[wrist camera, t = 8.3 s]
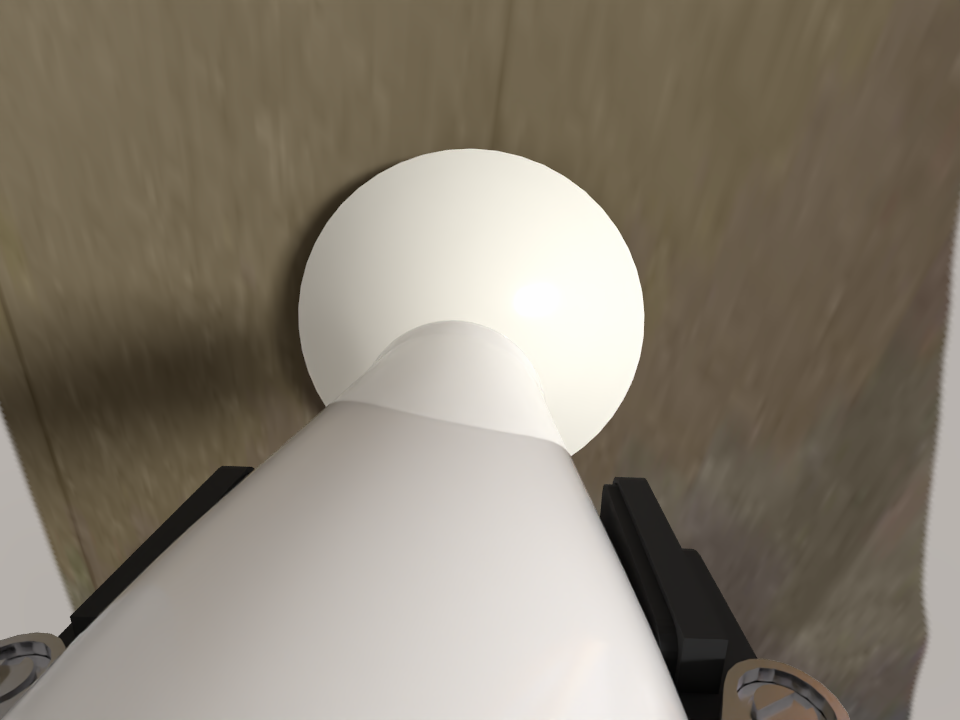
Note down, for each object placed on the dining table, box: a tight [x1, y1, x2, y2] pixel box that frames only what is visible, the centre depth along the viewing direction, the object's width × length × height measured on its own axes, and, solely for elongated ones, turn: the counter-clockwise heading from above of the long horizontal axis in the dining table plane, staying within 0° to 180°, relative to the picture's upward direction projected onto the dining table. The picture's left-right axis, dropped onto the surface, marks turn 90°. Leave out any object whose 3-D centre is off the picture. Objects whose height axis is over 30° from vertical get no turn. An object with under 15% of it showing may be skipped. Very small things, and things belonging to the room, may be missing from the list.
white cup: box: [0, 320, 688, 720], centre depth 10 cm, size 7×7×15 cm
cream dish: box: [298, 149, 644, 456], centre depth 26 cm, size 16×16×2 cm
